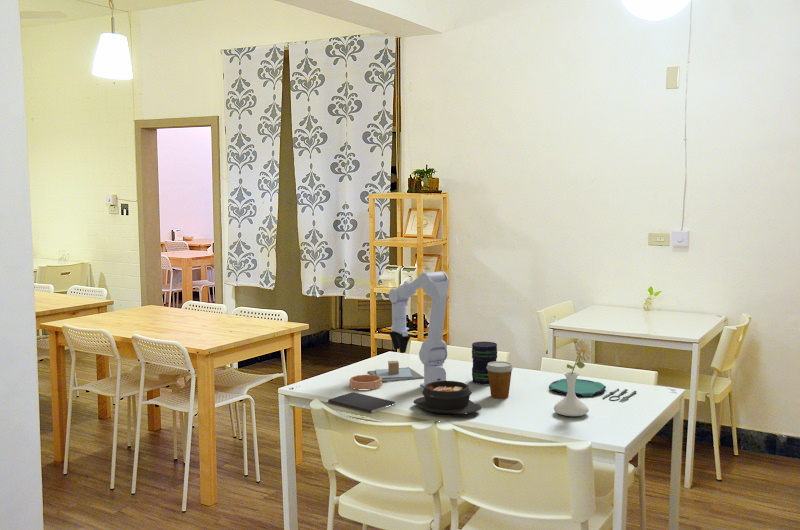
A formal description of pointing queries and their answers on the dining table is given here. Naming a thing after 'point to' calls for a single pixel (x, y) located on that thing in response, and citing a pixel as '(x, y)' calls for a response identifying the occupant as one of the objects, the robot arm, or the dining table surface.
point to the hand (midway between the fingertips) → (399, 350)
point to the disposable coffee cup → (499, 378)
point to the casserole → (447, 398)
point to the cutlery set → (586, 388)
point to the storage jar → (482, 361)
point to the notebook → (361, 402)
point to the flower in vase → (571, 402)
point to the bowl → (365, 382)
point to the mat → (414, 376)
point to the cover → (393, 371)
